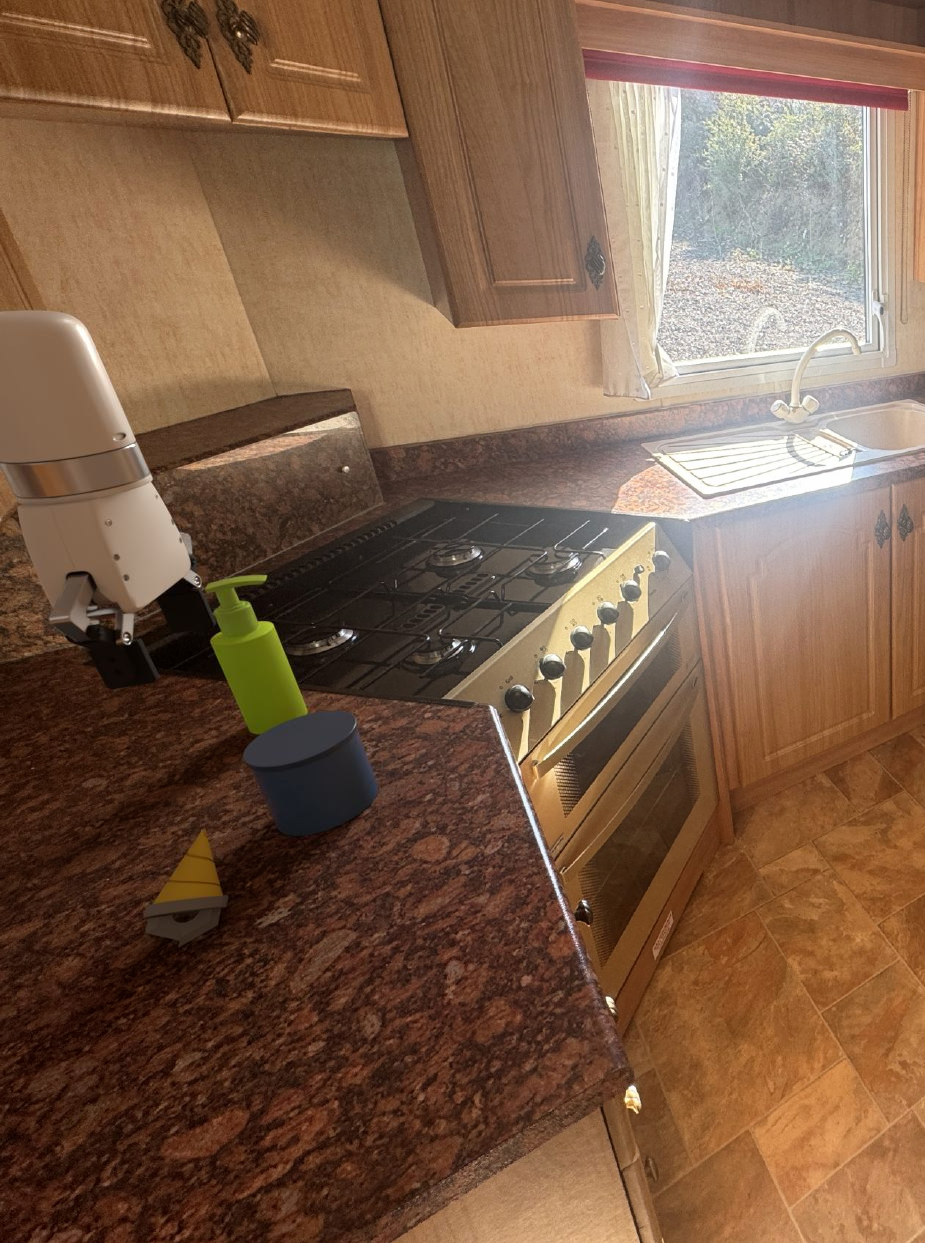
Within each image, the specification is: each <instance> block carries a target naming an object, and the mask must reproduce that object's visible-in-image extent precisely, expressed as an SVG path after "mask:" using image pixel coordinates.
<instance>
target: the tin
mask: <svg viewBox="0 0 925 1243" xmlns="http://www.w3.org/2000/svg"><path fill="white" fill-rule="evenodd" d="M358 729H359V724H358V721H357V718H356V716H355V715H354V714H352V713H350V712H348V711H343V710H324V711H322V710H321V711H317V712H312V713H307V715H303V716H300V717H297V718H294V719H291V720H288V721H286V722H283V723H281V724H279V725H277V726H275V727H273V728H271V729H269V730H267V731H266V732H264V733H262V734H259V735H258V736H256V737H255V738H254V739H253V740H252V741H251V742H250V743H248V745H247V746H246V748H245V749H244V751H243V754H242V759H243V762H244V764H245V766H246V767H247V768H248V769H250V771H251V773H252V775H253V777H254V780H255V782H256V784H257V786H258V788H259V791H260V793H261V796H262V797H263V800H264V802H265V804H266V806H267V809H268V811H269V814H270V815H271V818H272V820H273V821H274V824H275V827H276V829H277V830H278V832H280V833H282V834H283V835H287V836H290V837H291V836H292V837H293V836H294V837H302V836H311V835H316V834H318V833H323V832H326V831H329V830H332V829H335V828H336V827H339V826H340V825H343V824H345V823H347V822H349V821H351V820H352V819H354V818H355V817H357V816H358V815H361V813H363V812H364V811H366V809H368V807H370V805H371V804H373V802H374V801H375V800H376V798H377V797H378V793H379V789H380V788H379V784H378V780H377V779H376V776H375V773H374V771H373V768H372V765H371V763H370V760H369V757H368V754H367V752H366V749H365V746H364V743H363V741H362V738H361V736H360V733H359V730H358Z"/></svg>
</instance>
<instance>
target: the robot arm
mask: <svg viewBox="0 0 925 1243" xmlns="http://www.w3.org/2000/svg"><path fill="white" fill-rule="evenodd" d="M0 471H1V472H2V475H3V476H4V479H5V480H6V483H7V484H8V487H9V488H10V489H11V490H10V491H11V492H12V494H13V496H14V497H15V500H16V502H17V503H18V504H20V505H18V506H17V509H16V510H17V514H18V521H19V525H20V529H21V533H22V537H23V540H24V544H25V546H26V549H27V552H28V555H29V558H30V560H31V562H32V565H33V568H34V571H35V573H36V575H37V578H38V579H39V582H40V584H41V587H42V589H43V591H44V593H45V595H46V597H47V599H48V602H49V604H50V605H51V608H52V609H51V611H50V614H49V616H48V623H49V624H50V625H51V626H52V627H53V628H55V629H56V630H57V631H58V632H60V633H61V634H62V635H63V636H64V637H65V639H66V641H67V642H69V643H70V644H73V645H76V646H77V647H78V649H79V650H80V651H81V652H87V653H88V656H89V657H90V659H91V661H92V663H93V665H94V666H95V668H96V670H97V672H98V674H99V677H100V678H101V680H102V682H103V684H104V685H105V687H106V688H107V689H108V690H118V689H124V688H129V687H137V686H144V685H150V684H154V683H155V682H157V681H158V680H159V678H160V674H159V672H158V670H157V668H156V667H155V664H154V662H153V660H152V659H151V656H150V653H149V652H148V649H147V648H146V646H145V644H144V642H143V639H142V638H134V628H135V627H134V625H135V614H136V613H137V612H139V611H141V610H142V609H144V608H145V607H146V606H148V605H150V603H152V602H153V601H154V600H156V602H157V604H158V606H159V608H160V610H161V612H162V615H163V618H164V619H165V621H166V623H167V626H168V628H169V630H170V631H171V632H172V633H174V634H180V633H181V634H182V633H187V632H194V631H202V630H208V629H212V628H214V627H215V626H216V624H217V620H216V618H215V616H214V613H213V611H212V609H211V607H210V605H209V602H208V600H207V598H206V595H205V593H204V591H203V589H202V583H203V582H202V578H201V575H199V574H198V573H196V571H197V564H198V561H197V558H196V557H195V556H194V554H193V545H192V538H191V535H190V534H189V533H186V532H181V531H179V530H178V527H177V525H176V523H175V521H174V519H173V517H172V515H171V513H170V512H169V510H168V508H167V506H166V504H165V502H164V501H163V499H162V497H161V495H160V494H159V492H158V491H157V489H156V487H155V486H154V484H153V482H152V481H153V479H154V477H153V475H152V473H151V471H150V469H149V466H148V464H147V462H146V459H145V457H144V455H143V453H142V450H141V449H140V446H139V443H138V442H137V440H136V436H135V435H134V432H133V430H132V428H131V425H130V423H129V420H128V418H127V416H126V413H125V411H124V409H123V407H122V404H121V401H120V400H119V398H118V395H117V393H116V391H115V389H114V386H113V384H112V381H111V378H110V377H109V375H108V372H107V370H106V368H105V366H104V363H103V361H102V358H101V356H100V354H99V352H98V349H97V347H96V344H95V342H94V340H93V338H92V336H91V334H90V331H89V330H88V329H87V327H86V326H85V324H84V323H83V322H82V321H81V320H79V319H78V318H77V317H75V316H73V315H71V314H68V313H66V312H61V311H56V310H43V309H42V310H41V309H40V310H39V309H36V310H34V309H33V310H30V309H28V310H3V311H1V310H0ZM115 604H116V605H115ZM107 605H115V606H109V607H101V608H99V607H100V606H107ZM108 619H114V627H113V628H114V629H113V628H110V627H108V626H105V625H103V624H100V620H108Z"/></svg>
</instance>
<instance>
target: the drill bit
mask: <svg viewBox="0 0 925 1243" xmlns="http://www.w3.org/2000/svg"><path fill="white" fill-rule="evenodd" d="M228 901H229V895H224V894H223V890H222V887H221V883H220V879H219V876H218V871H217V867H216V864H215V861H214V857H213V853H212V849H211V845H210V842H209V839H208V834H207V831H206V828H203V829H201V830H200V832H199V834H198V835H197V836H196V838H195V840H194V841H193V842H192V843H191V845H190V847H189V848H188V850H187V852H186V853H185V854H184V857H183V858H182V859H181V861H180V862H179V864H178V865H177V866H176V868H175V870H174V871H173V873H172V874H171V876H170V877H169V880H168V881H167V882H166V883H165V884H164V886H163V888H162V889H161V891H160V892H159V893H158V895H157V896H156V897H155V900H154V901H153V903H151V904H147V905H145V907H144V912H143V916H142V918H143V919H147V923H146V927H145V932H144V933H145V934H148V935H151V936H152V935H153V936H157V937H162V938H166V939H171V940H177V941H179V942H178V948H180V947H182V946H184V945H186V944H187V943H189V942H191V941H193V940H194V939H196V938H198V937H199V936H201V935H202V934H205V933H206V932H208V931H209V930H212V929H214V928H215V927H216V926H218V925H219V921H220V917H221V910H223V909H226V908H227V906H228V903H229V902H228ZM192 914H197V915H195V917H194V918H192V919H190V920H189V921H186V922H185V921H184V922H179V921H176V920H175V919H174V916H175V917H176V916H183V915H192Z"/></svg>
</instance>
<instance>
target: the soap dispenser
mask: <svg viewBox="0 0 925 1243" xmlns="http://www.w3.org/2000/svg"><path fill="white" fill-rule="evenodd" d="M267 577H268V575H267V574H250V575H241V576H234V577H229V578H225V579H221V580H216V581H213V582H208V583H207V585H206V587H205V589H204V590H205V593H206V594H207V595H208V594H212V593H215V595H216V598H217V600H218V603H219V606H217V608H215V609H214V610H213V616H214V618H215V621H216V624H217V626H218V627H219V629H220V632H218V633H216V634H214V635H213V636H212V637H211V638H210V640H209V642H210V645H211V647H212V649H213V651H214V654H215V656H216V658H217V660H218V663H219V665H220V668H221V670H222V672H223V674H224V676H225V678H226V681H227V683H228V686H229V688H230V690H231V692H232V694H233V697H234V699H235V701H236V704H237V706H238V708H239V710H240V713H241V715H242V717H243V720H244V722H245V724H246V726H247V728H248V731H249V732H250V733H251V734H254V735H261V734H262V733H264V732H266V731H267V730H269V729H271V728H273V727H275V726H277V725H279V724H281V723H283V722H286V721H288V720H291V719H294V718H297V717H300V716H303V715H307V714H309V711H308V708H307V706H306V703H305V700H304V698H303V695H302V693H301V689H300V688H299V685H298V683H297V679H296V677H295V675H294V673H293V670H292V668H291V665H290V663H289V660H288V657H287V655H286V653H285V650H284V648H283V645H282V642H281V640H280V638H279V635H278V632H277V630H276V627H275V625H274V623H272V622H271V621H265V620H263V621H262V620H260V621H258V619H257V616H256V613H255V611H254V609H253V607H252V604H251V602H249V601H247V600H240V599H239V597H238V594H237V592H236V589H235V588H238V587H244V586H254V585H256V586H257V585H263V584H264V583H265V582H266V581H267Z"/></svg>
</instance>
